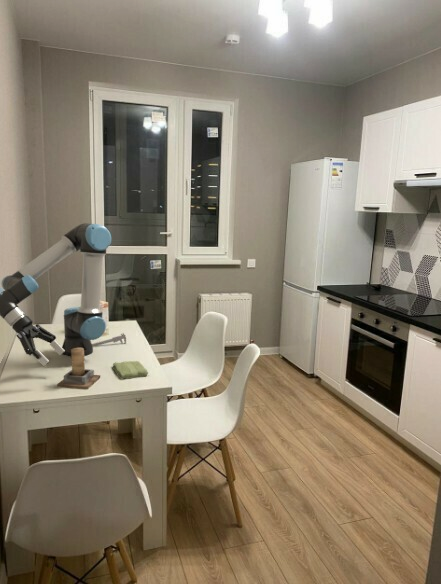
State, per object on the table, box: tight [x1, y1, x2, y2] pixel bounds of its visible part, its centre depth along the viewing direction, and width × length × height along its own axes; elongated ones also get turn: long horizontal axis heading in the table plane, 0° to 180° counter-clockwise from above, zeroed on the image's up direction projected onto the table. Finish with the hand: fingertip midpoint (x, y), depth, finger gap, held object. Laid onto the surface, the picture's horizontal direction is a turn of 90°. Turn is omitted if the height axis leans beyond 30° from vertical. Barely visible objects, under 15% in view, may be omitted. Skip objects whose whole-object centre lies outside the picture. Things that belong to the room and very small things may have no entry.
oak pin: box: [70, 348, 86, 376], centre depth 178 cm, size 5×5×13 cm
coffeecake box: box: [100, 300, 110, 338], centre depth 251 cm, size 15×7×20 cm, turn 55°
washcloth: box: [111, 360, 149, 380], centre depth 194 cm, size 13×18×3 cm
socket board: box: [56, 368, 101, 390], centre depth 179 cm, size 13×13×4 cm
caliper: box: [92, 332, 127, 348], centre depth 231 cm, size 20×1×6 cm, turn 114°
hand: (54, 358), depth 179 cm, fingers open, 13 cm apart
